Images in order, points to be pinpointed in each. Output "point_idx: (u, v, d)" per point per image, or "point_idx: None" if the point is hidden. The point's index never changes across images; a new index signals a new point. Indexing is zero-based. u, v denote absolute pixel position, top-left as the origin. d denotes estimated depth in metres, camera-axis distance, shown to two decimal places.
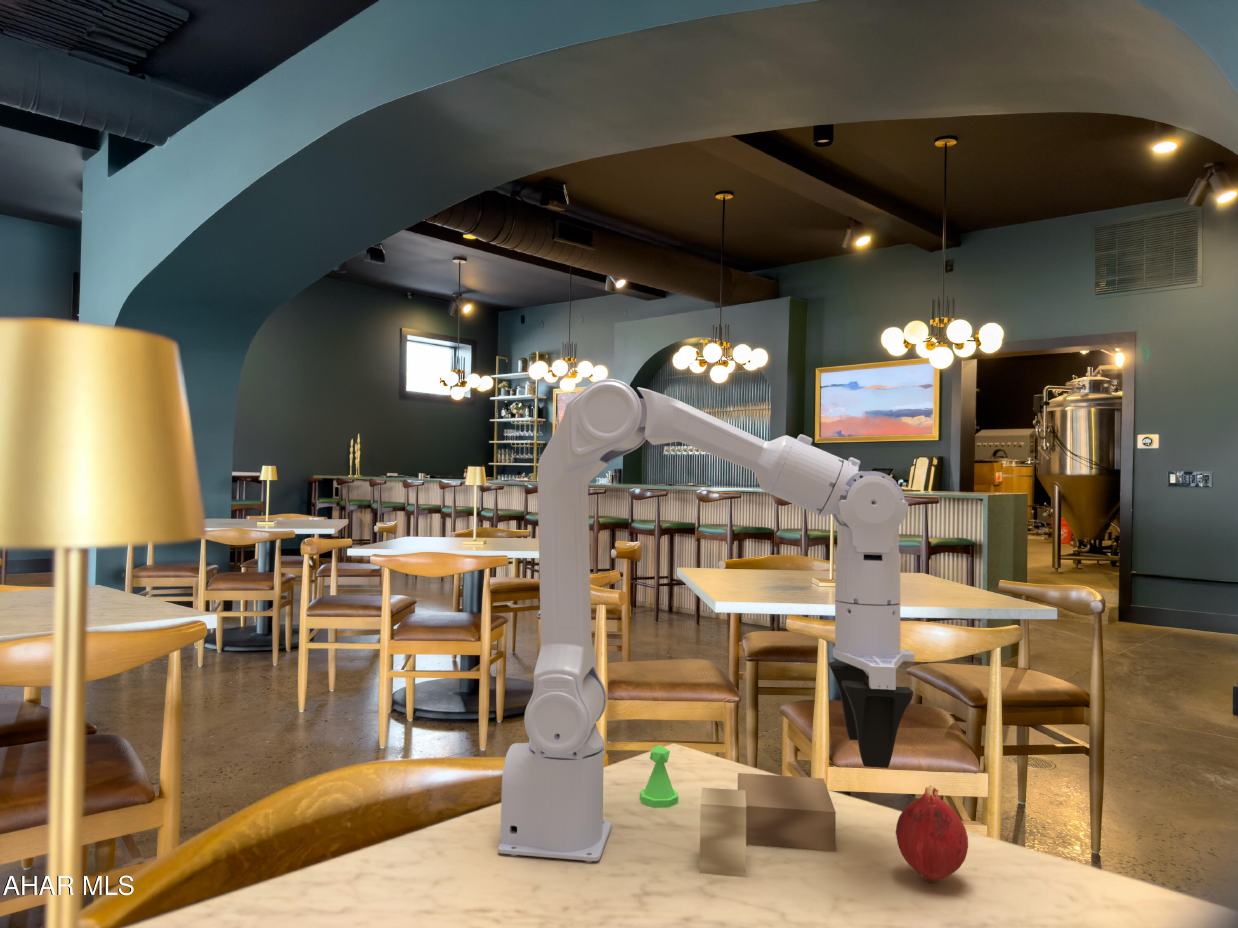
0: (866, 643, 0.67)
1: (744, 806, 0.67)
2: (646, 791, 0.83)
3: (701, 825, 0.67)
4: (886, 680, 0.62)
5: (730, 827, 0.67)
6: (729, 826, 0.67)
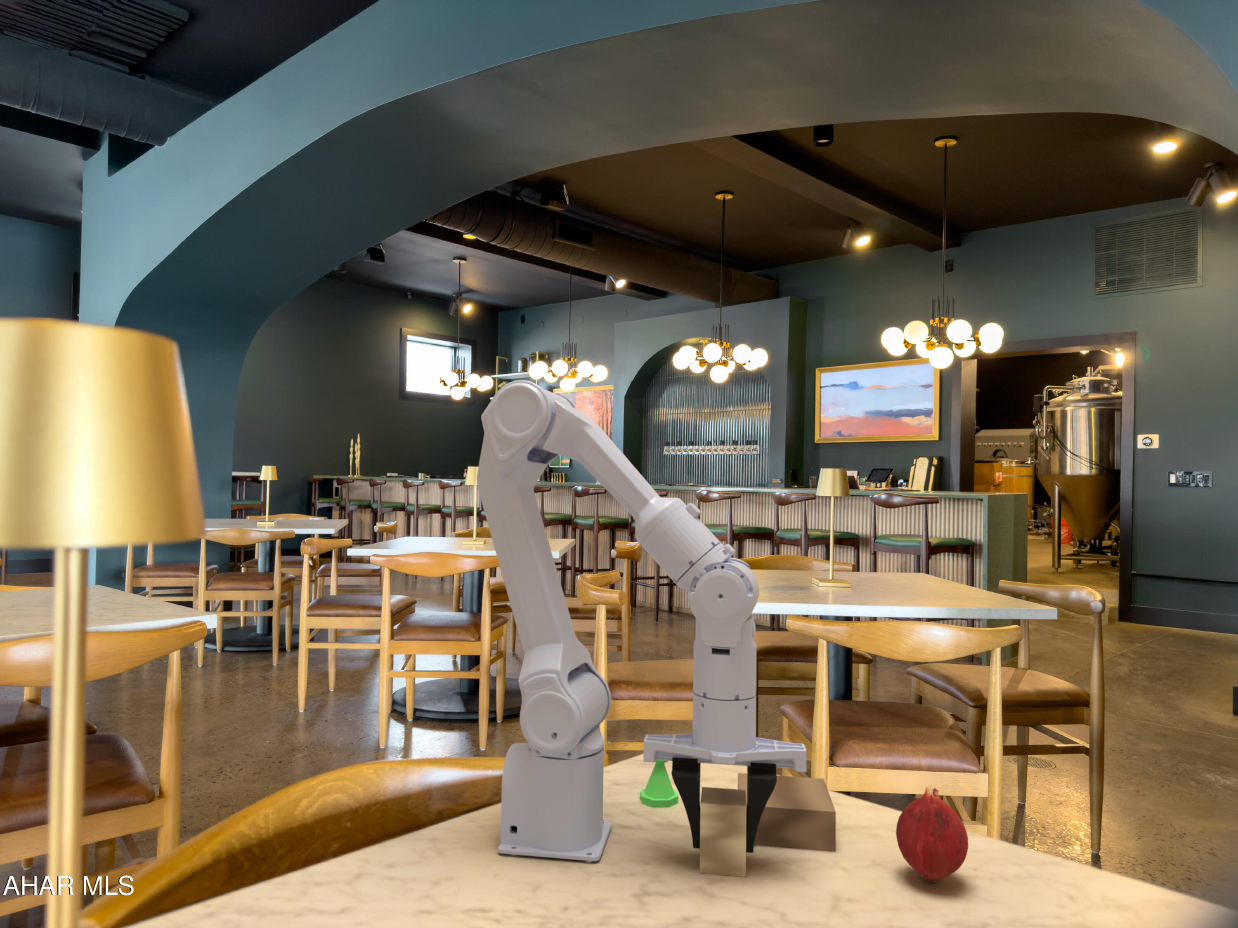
0: None
1: (744, 805, 0.67)
2: (646, 791, 0.83)
3: (701, 824, 0.67)
4: None
5: (730, 826, 0.67)
6: (729, 825, 0.67)
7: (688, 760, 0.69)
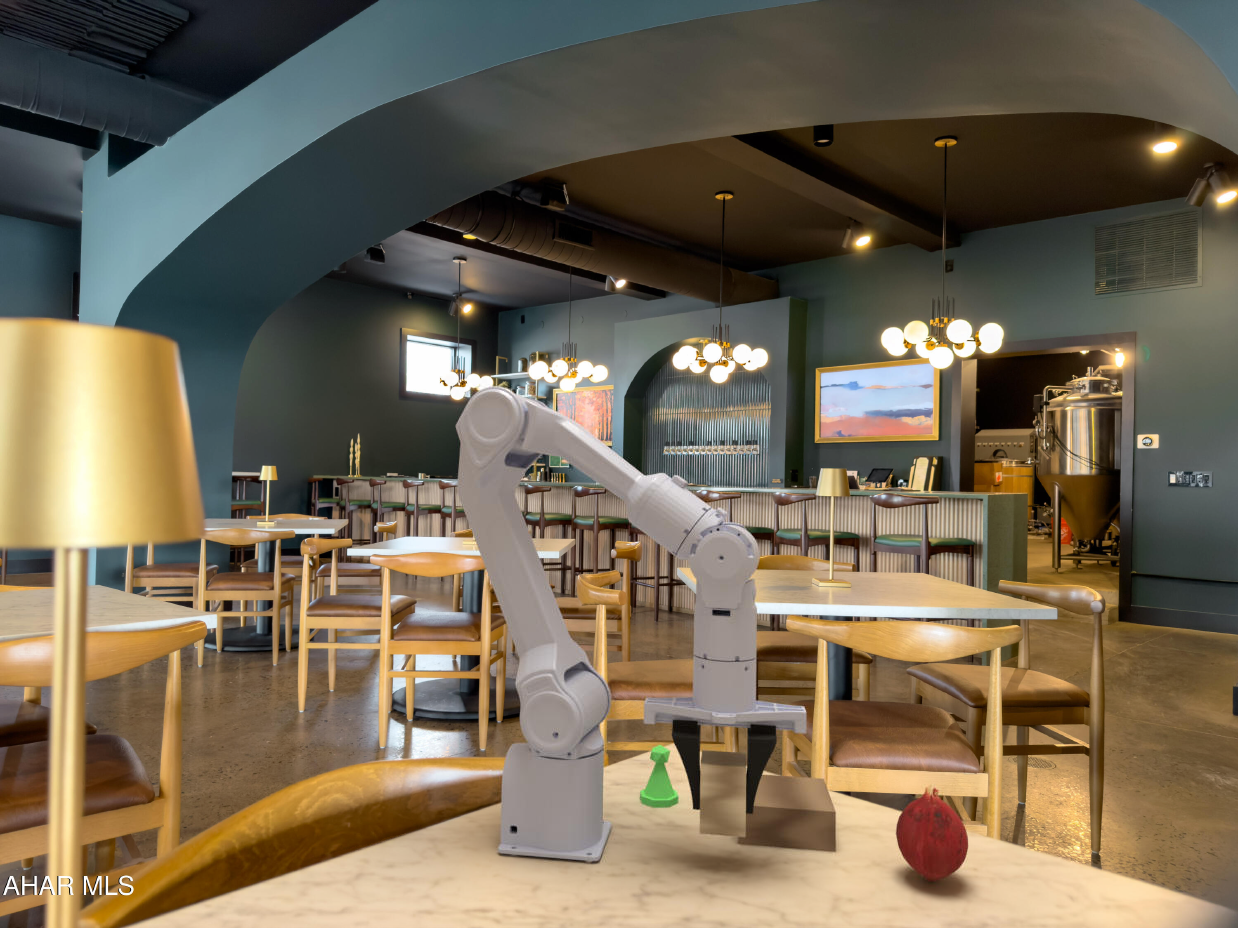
0: None
1: (744, 766, 0.67)
2: (646, 791, 0.83)
3: (701, 785, 0.67)
4: None
5: (730, 787, 0.67)
6: (729, 786, 0.67)
7: (688, 722, 0.69)
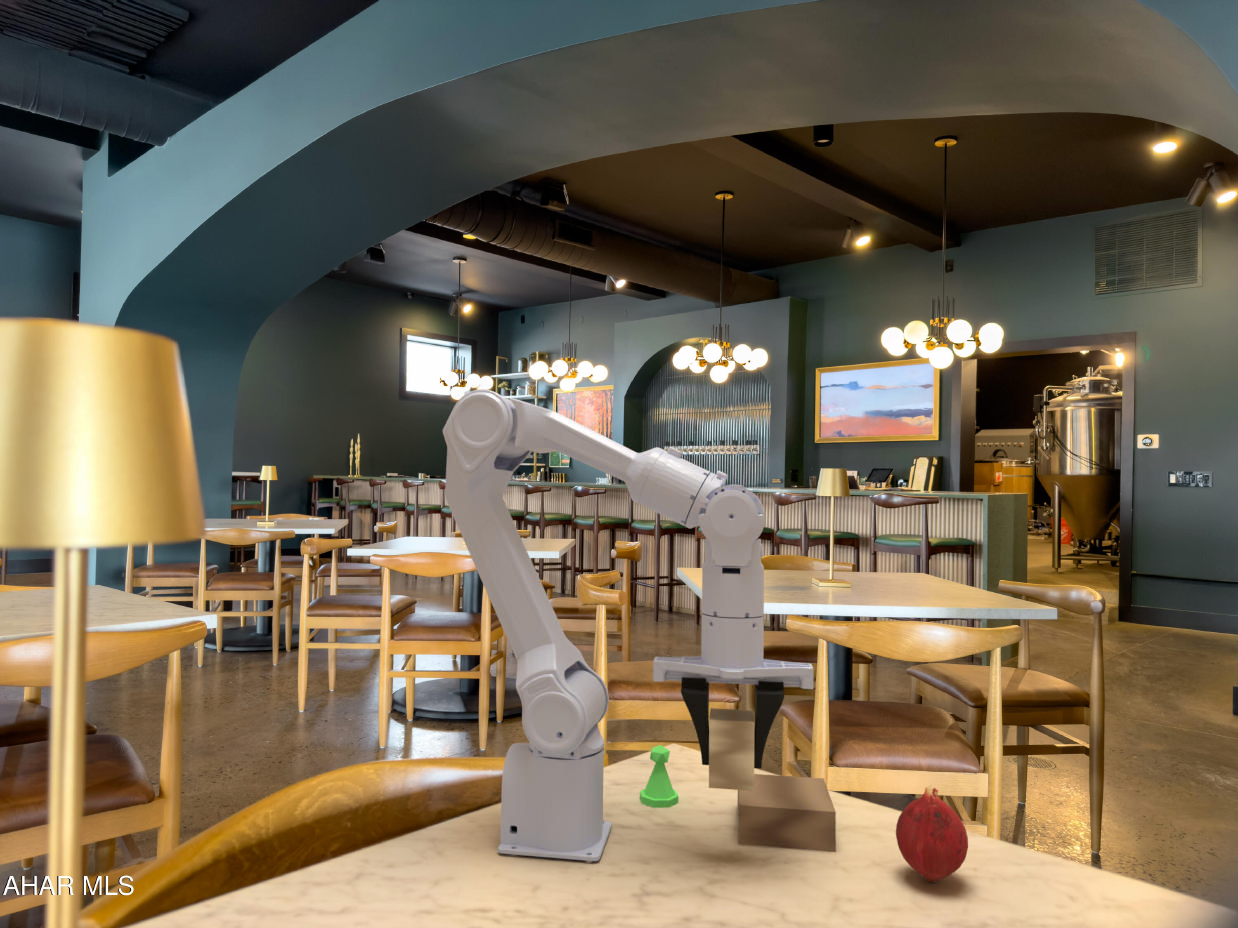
0: None
1: (752, 721, 0.68)
2: (646, 791, 0.83)
3: (710, 740, 0.68)
4: None
5: (738, 742, 0.68)
6: (738, 741, 0.68)
7: (697, 679, 0.70)
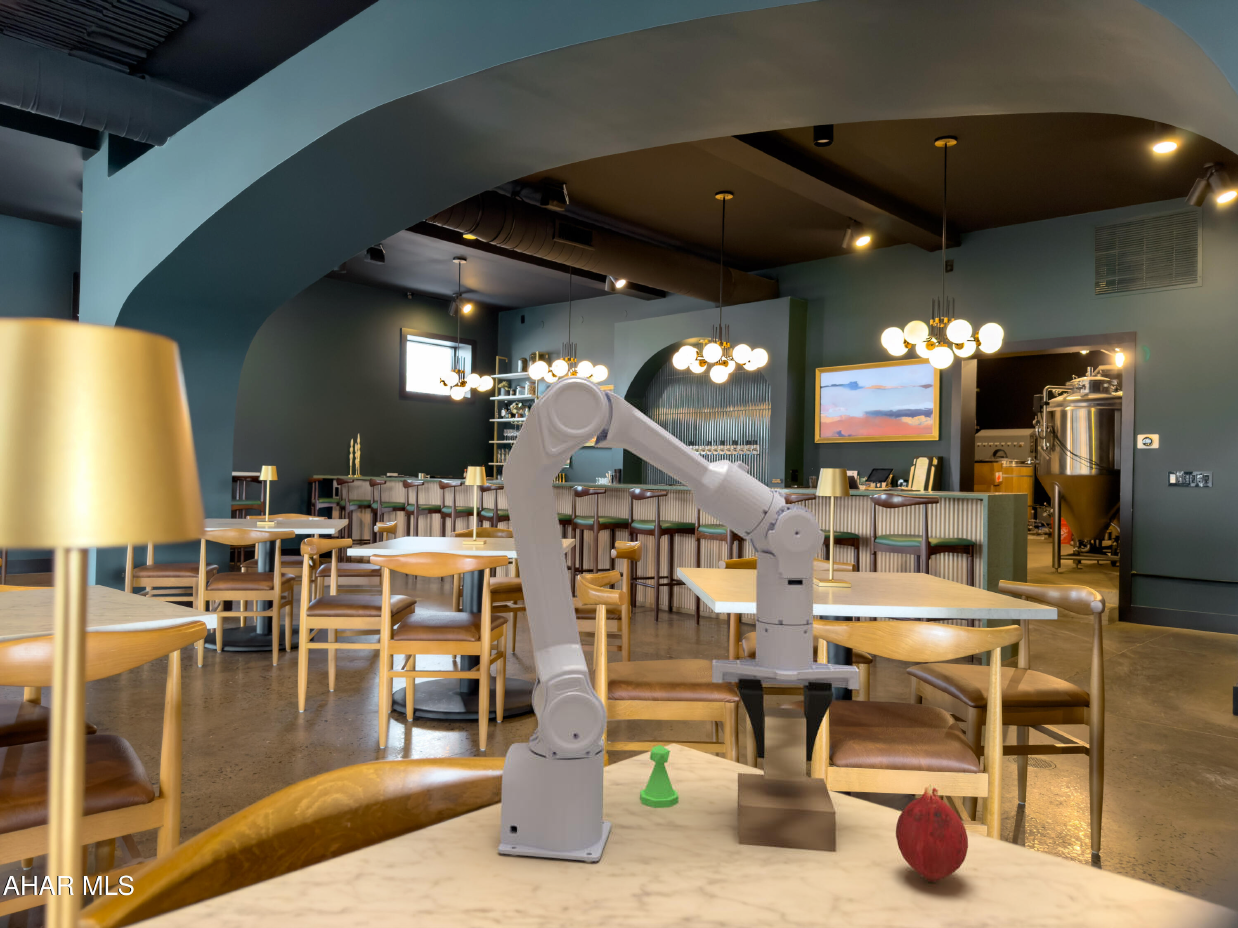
0: None
1: (804, 719, 0.75)
2: (646, 791, 0.83)
3: (766, 736, 0.75)
4: None
5: (792, 737, 0.75)
6: (791, 736, 0.75)
7: (752, 680, 0.77)
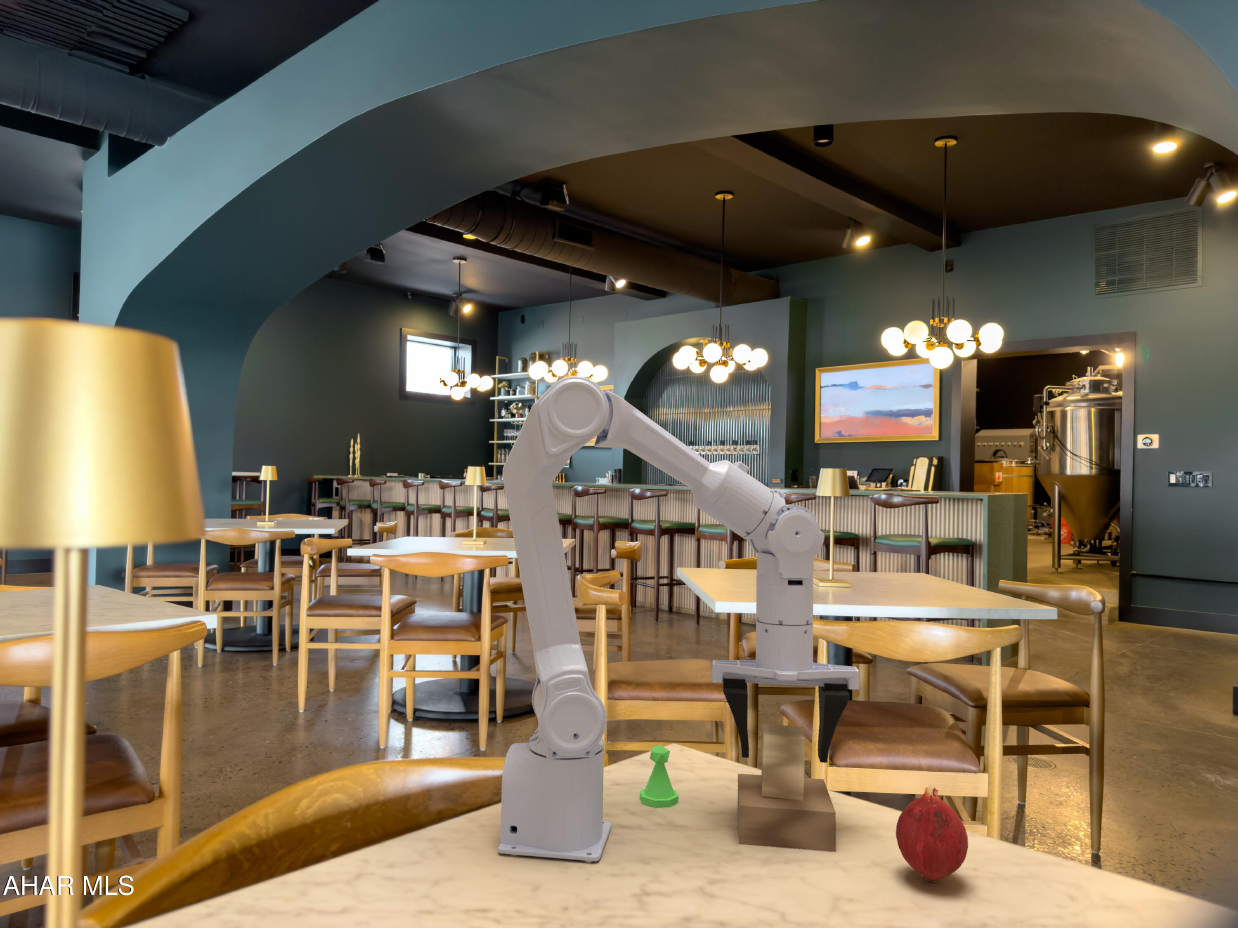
0: None
1: (803, 738, 0.75)
2: (646, 791, 0.83)
3: (764, 753, 0.75)
4: None
5: (790, 755, 0.75)
6: (789, 755, 0.75)
7: (737, 680, 0.77)
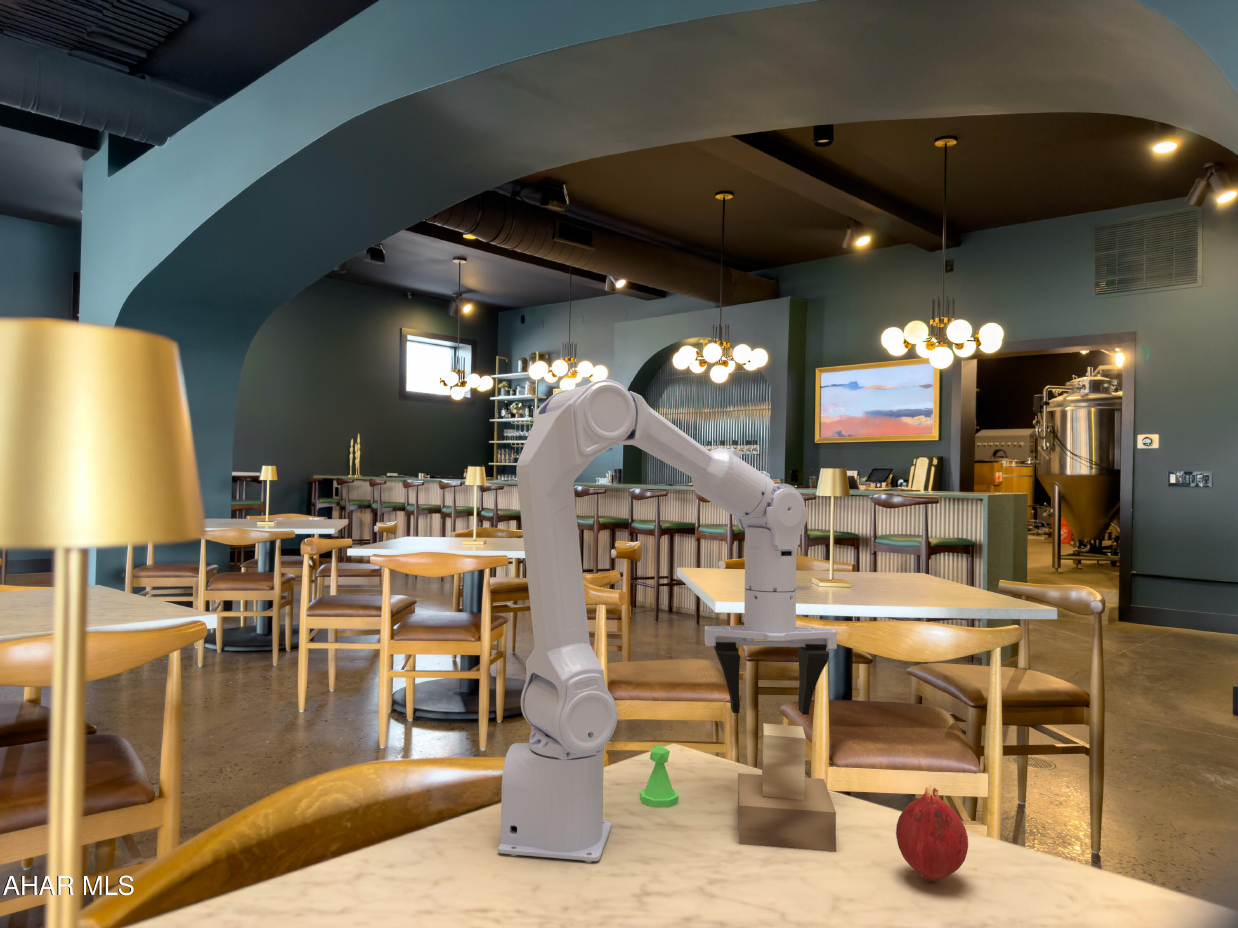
0: (744, 618, 0.86)
1: (804, 737, 0.75)
2: (646, 791, 0.83)
3: (765, 753, 0.75)
4: (705, 638, 0.85)
5: (791, 755, 0.75)
6: (790, 754, 0.75)
7: (729, 643, 0.85)
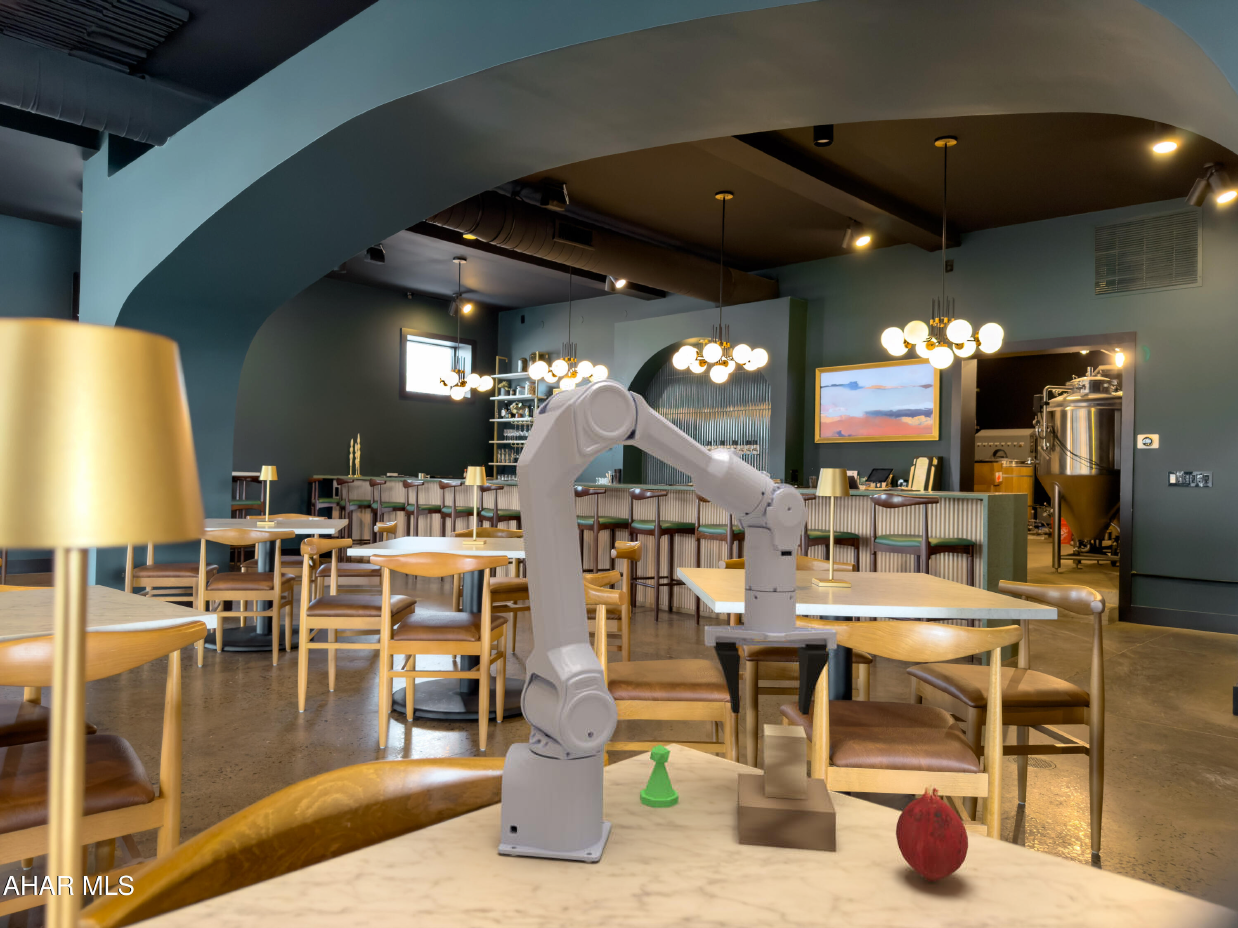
0: (744, 618, 0.86)
1: (804, 736, 0.75)
2: (646, 791, 0.83)
3: (766, 754, 0.75)
4: (705, 638, 0.85)
5: (792, 755, 0.75)
6: (791, 754, 0.75)
7: (729, 643, 0.85)
